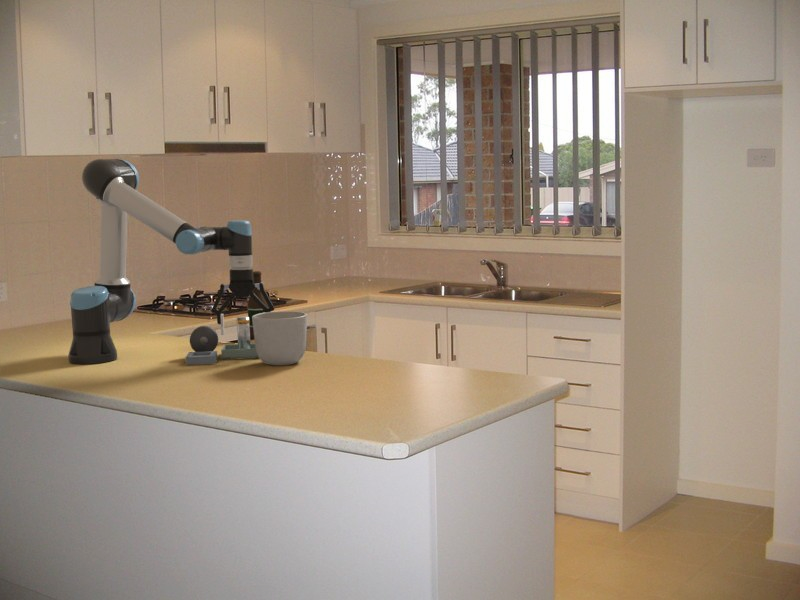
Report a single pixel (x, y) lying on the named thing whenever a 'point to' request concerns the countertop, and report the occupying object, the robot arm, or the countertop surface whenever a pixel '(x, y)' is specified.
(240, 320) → the pin
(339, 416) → the countertop surface
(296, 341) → the planter
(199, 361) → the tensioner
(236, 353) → the tray
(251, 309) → the beer bottle
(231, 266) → the robot arm
